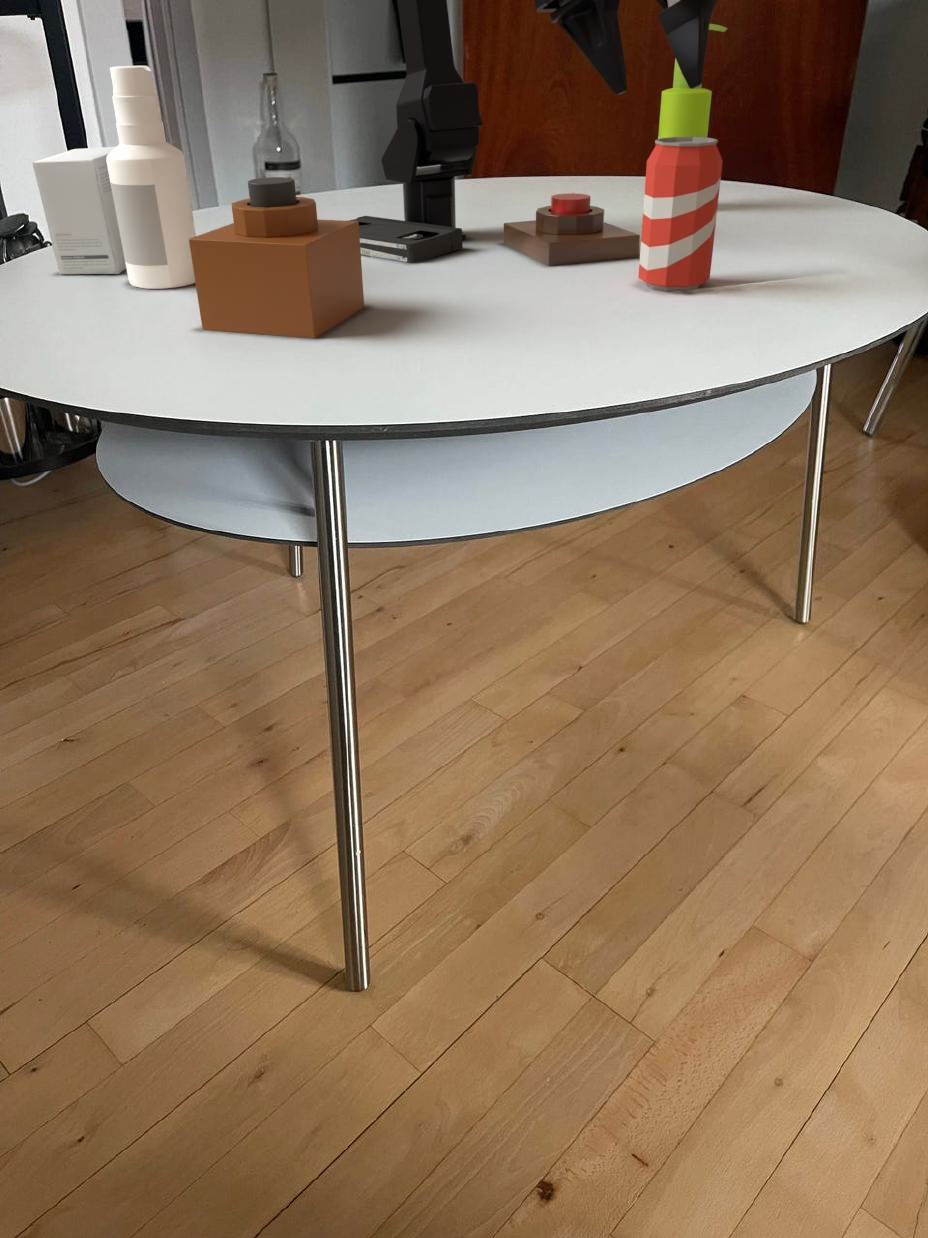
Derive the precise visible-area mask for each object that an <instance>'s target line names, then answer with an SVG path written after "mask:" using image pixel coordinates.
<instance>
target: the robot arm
mask: <svg viewBox="0 0 928 1238" xmlns="http://www.w3.org/2000/svg"><path fill="white" fill-rule="evenodd" d="M655 1H656V2H657V3H658V5H659V6H660V7H661V8H662V9H663V10H662V11H661V12H659V13H657V17H658V20H659V22H660V25H661V27H662V29H663V32H664V34H665V37H666V39H667V41H668V44H669V46H670V48H671V52H672V53H673V56H674V58H676V60H677V63H678V65H679V67H680V70H681V72H682V74H683V76H684V78H685V80H686V82H687V84H688V86H689V88H691V89H693V88H696V87H698V86H700V85H701V84H702V85H703V78H704V72H705V62H706V53H707V46H708V45H707V44H708V37H709V31H710V30H709V25H710V24H711V20H712V19H711V18H712V15H713V11H714V9H715V7H716V5H717V3H718V2H719V0H655ZM533 2H534V6H535V10H536V13H550V14H549V15H548V18H549V21H550V23H552V24H558V26H559V27H560V28H561V29H562V30H563V32H565V33H566V35H567V36H568V37H569V38H570V39H571V40H572V42H573V43H575V45H576V46H577V47H578V48H579V50H580V51H581V52H582V54H584V57H586V59H587V60H588V61H589V62H590V64H591V65H592V66H593V68H594V69H595V71H596V72H597V73H598V75H599V76H600V77H601V79H602V80H603V81H604V82H605V84H606V85H607V86H608V88H609V89H610V90H611V91H612V94H614V95H615V96H620V95H622V94H624V93H626V92H627V91H628V80H627V79H628V78H627V68H626V61H625V53H624V48H623V41H622V35H621V29H620V22H619V17H618V16H619V15H618V12H619V7H620V3H621V0H533ZM396 3H397V9H398V17H399V23H400V30H401V31H400V33H401V39H402V47H403V54H404V63H405V69H406V71H405V73H406V76H405V79H404V82H403V84H402V87H401V90H400V92H399V96H398V99H397V102H396V105H395V106H396V109H395V111H396V127H397V128H396V130H395V132H394V134H393V136H392V137H391V140H390V141H389V143H388V144H387V147H386V149H385V151H384V153H383V155H382V157H381V165H382V169H383V173H384V177H385V180H387V181H392V182H398V183H402V193H403V217H404V221H409V222H417V223H424V224H432V225H439V226H447V227H454V228H457V224H456V223H457V220H456V177H462V176H463V177H464V176H465V177H469V176H470V177H471V176H472V173H473V169H474V163H475V160H476V156H477V155H476V154H477V149H478V147H479V144H480V138H481V137H480V135H481V131H480V130H481V129H480V127H483V125H484V123H483V120H482V117H481V114H480V109H479V108H480V107H479V91H478V87H477V85H476V83H475V82H474V81H472V82H471V81H470V82H465V81H464V79H463V78H462V76H461V74H460V73H459V71H458V70H457V68H456V65H455V60H454V52H453V51H454V50H453V43H452V32H451V25H450V17H449V6H448V0H396ZM463 239H464V240H466V239H467V233H465V232H463V231H462V240H463Z"/></svg>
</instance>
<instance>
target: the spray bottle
mask: <svg viewBox="0 0 928 1238" xmlns="http://www.w3.org/2000/svg"><path fill="white" fill-rule="evenodd" d="M109 72H110V77H111V83H112V88H113V89H112V93H113V94H112V96H111V98H112V104H113V110H114V115H115V121H116V123H115V127H116V132H117V137H118V144H117V146H115V147H116V148H114V149H113V150H112V151H111V152H110V153H109V154H108V156H107V157H106V162H107V167H108V173H109V178H110V183H111V189H112V194H113V199H114V205H115V210H116V215H117V221H118V226H119V231H120V237H121V242H122V247H123V253H124V258H125V263H126V269H125V270H126V274H127V279H128V282H129V283H130V285H131V286H133V287H136V288H140V289H146V290H147V289H148V290H165V289H166V290H167V289H177V288H182V287H186V286H191V285H193V284H195V277H194V270H193V264H192V257H191V251H190V244H189V239H190V238H193V237H196V236H197V234H196V227H195V220H194V214H193V208H192V201H191V193H190V187H189V186H190V185H189V182H188V173H187V167H186V160H185V155H184V152H183V151H181V150H180V149H179V148H178V147H176V146H174V145H172V144H171V143H169V142H167V140H166V133H165V126H164V121H163V119H162V113H161V107H160V101H159V95H158V93H156V88H155V86H154V79H153V74H152V69H151V68H150V67H149V66H148V65H119V66H118V65H117V66H109Z"/></svg>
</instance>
